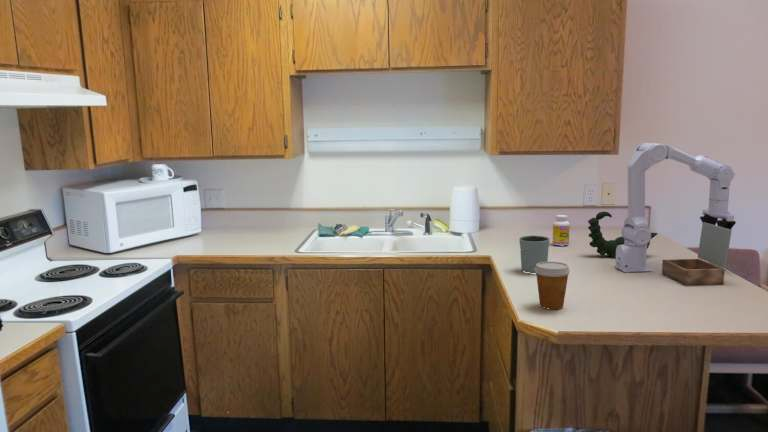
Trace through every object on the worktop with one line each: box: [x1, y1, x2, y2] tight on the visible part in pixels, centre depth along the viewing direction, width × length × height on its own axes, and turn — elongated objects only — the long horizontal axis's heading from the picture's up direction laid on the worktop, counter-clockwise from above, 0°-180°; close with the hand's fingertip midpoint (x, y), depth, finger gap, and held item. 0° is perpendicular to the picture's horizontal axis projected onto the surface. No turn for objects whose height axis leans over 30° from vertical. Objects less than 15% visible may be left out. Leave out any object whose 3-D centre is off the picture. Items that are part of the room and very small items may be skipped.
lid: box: [697, 222, 732, 269], centre depth 172 cm, size 12×14×1 cm
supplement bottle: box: [552, 214, 571, 246], centre depth 228 cm, size 7×7×13 cm
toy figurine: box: [587, 211, 658, 259], centre depth 205 cm, size 9×19×25 cm
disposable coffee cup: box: [535, 261, 571, 310], centre depth 151 cm, size 10×10×12 cm
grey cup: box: [519, 235, 550, 273], centre depth 188 cm, size 10×10×12 cm
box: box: [661, 258, 725, 287], centre depth 174 cm, size 12×14×5 cm
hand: (716, 238), depth 186 cm, fingers open, 7 cm apart
